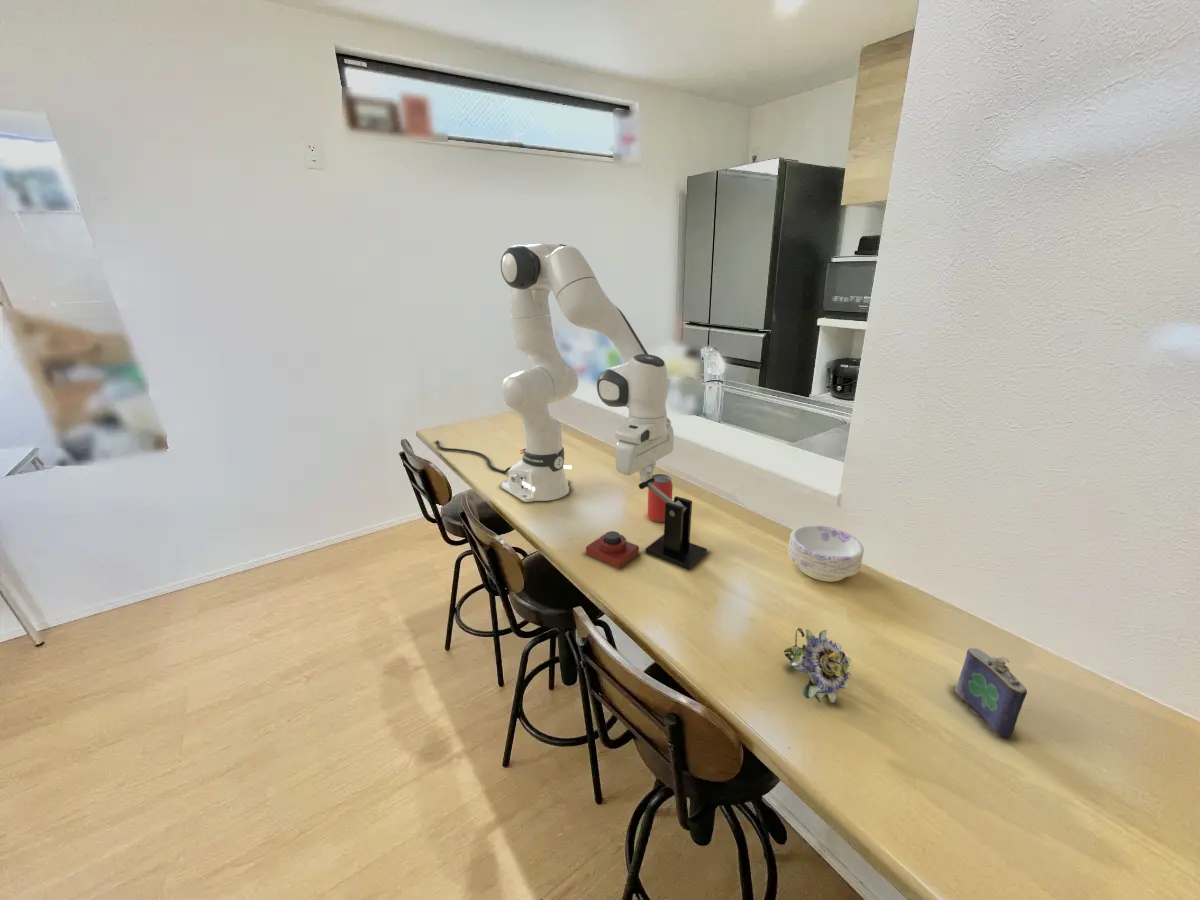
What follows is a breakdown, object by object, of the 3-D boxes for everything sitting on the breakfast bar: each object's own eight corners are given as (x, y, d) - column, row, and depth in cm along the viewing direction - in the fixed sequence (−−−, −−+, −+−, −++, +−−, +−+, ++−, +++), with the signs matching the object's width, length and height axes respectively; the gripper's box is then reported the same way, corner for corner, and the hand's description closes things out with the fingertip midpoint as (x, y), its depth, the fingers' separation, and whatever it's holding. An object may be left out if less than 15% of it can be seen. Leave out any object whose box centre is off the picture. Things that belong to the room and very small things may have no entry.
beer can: (670, 524, 134) (672, 483, 130) (646, 521, 135) (647, 481, 131) (671, 512, 140) (673, 474, 136) (648, 510, 141) (649, 472, 137)
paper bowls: (853, 558, 117) (859, 529, 115) (862, 596, 104) (869, 564, 101) (785, 547, 122) (789, 519, 119) (786, 582, 109) (790, 551, 106)
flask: (950, 690, 81) (967, 638, 77) (966, 688, 81) (983, 636, 77) (1000, 741, 72) (1022, 685, 68) (1018, 738, 73) (1040, 682, 69)
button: (602, 541, 119) (601, 535, 118) (611, 535, 121) (611, 529, 121) (613, 546, 116) (613, 540, 116) (622, 540, 119) (622, 534, 118)
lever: (636, 488, 119) (640, 481, 118) (648, 481, 123) (652, 474, 121) (675, 520, 114) (679, 513, 113) (686, 512, 118) (690, 505, 117)
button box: (586, 554, 120) (586, 540, 119) (606, 540, 126) (606, 527, 125) (619, 568, 114) (619, 553, 113) (638, 553, 120) (639, 539, 119)
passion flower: (823, 723, 81) (822, 709, 73) (768, 675, 88) (760, 657, 80) (863, 670, 84) (866, 650, 75) (805, 627, 91) (802, 604, 82)
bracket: (645, 552, 121) (646, 501, 116) (664, 537, 127) (666, 489, 122) (688, 569, 114) (692, 516, 109) (706, 553, 120) (710, 502, 115)
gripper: (659, 413, 125) (657, 464, 129) (610, 433, 110) (610, 490, 114) (681, 417, 121) (678, 469, 126) (633, 439, 106) (633, 497, 111)
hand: (646, 479), depth 120 cm, fingers closed
